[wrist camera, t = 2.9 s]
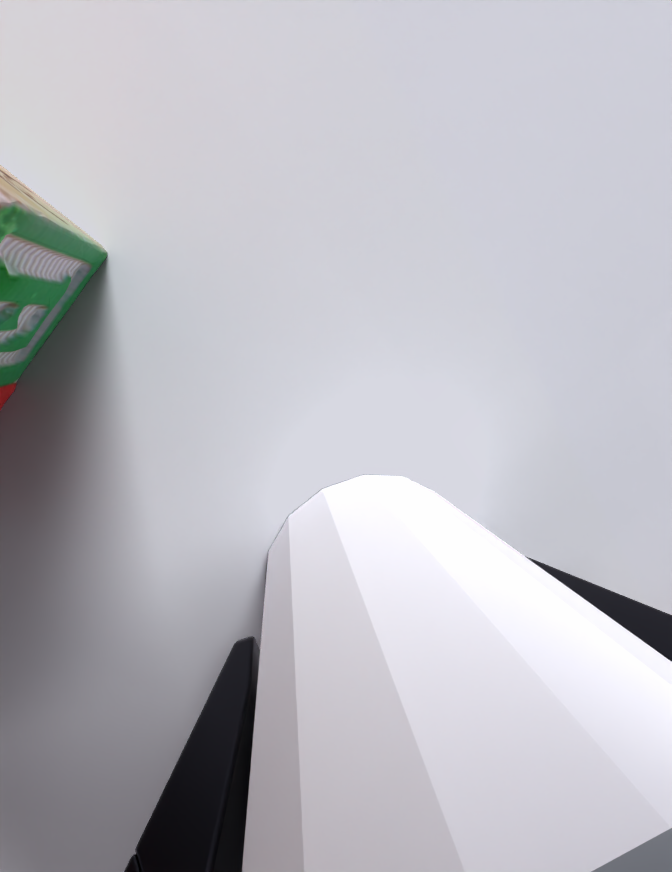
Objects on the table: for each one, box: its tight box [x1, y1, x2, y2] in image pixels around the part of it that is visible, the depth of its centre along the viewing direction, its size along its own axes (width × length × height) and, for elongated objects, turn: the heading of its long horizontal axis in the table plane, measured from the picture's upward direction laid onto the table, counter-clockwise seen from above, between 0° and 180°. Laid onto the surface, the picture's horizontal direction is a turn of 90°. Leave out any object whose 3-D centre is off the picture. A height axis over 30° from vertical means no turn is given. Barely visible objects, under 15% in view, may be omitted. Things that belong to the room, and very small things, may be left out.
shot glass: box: [242, 475, 672, 872], centre depth 6 cm, size 7×7×7 cm
